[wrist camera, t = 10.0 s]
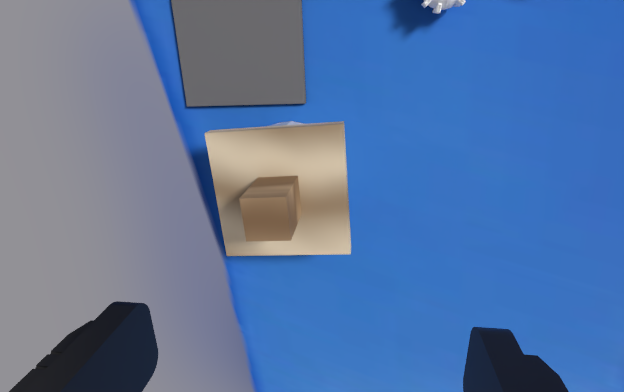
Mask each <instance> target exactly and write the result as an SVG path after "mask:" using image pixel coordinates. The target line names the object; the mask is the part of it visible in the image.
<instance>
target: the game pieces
mask: <svg viewBox="0 0 624 392" xmlns="http://www.w3.org/2000/svg"><path fill="white" fill-rule="evenodd" d="M465 2H466V1H465V0H424V2H423V3H422V4H421V5H422V6H423V7H424V8H425V7H426V6H427V5H428V6H429V7H431V8H434V10H433V11H432V13H440V12H441V9H442V10H446V9H449V8H451V7H452V6H455V7H458V6H460V5H461V6H462V5H463V4H464V3H465Z"/></svg>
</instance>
